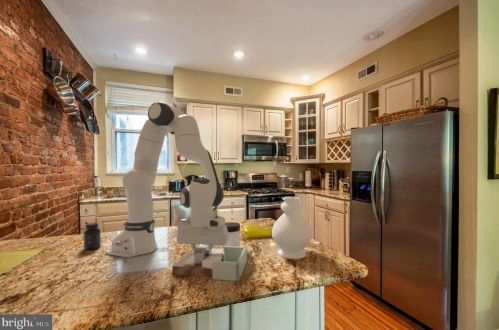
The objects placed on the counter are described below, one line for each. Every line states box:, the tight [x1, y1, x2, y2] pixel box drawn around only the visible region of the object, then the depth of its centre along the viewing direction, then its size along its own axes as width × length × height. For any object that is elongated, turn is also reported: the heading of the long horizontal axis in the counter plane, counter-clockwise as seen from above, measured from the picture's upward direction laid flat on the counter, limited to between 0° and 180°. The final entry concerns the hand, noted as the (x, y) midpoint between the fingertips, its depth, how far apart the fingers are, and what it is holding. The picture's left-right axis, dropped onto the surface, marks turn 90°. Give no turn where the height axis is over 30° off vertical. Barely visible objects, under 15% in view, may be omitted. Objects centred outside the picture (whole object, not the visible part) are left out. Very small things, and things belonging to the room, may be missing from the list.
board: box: [171, 252, 224, 278], centre depth 89 cm, size 16×13×3 cm
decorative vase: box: [271, 196, 313, 260], centre depth 102 cm, size 18×18×25 cm
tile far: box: [211, 248, 224, 259], centre depth 92 cm, size 5×5×2 cm
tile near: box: [202, 256, 221, 269], centre depth 84 cm, size 5×5×2 cm
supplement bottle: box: [83, 222, 102, 251], centre depth 112 cm, size 7×7×12 cm
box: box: [212, 246, 248, 282], centre depth 87 cm, size 10×16×6 cm, turn 170°
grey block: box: [193, 244, 210, 265], centre depth 89 cm, size 4×10×4 cm, turn 175°
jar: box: [222, 221, 241, 252], centre depth 107 cm, size 9×8×12 cm
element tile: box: [242, 222, 272, 239], centre depth 132 cm, size 15×15×5 cm
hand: (202, 255), depth 89 cm, fingers closed on grey block, 4 cm apart
